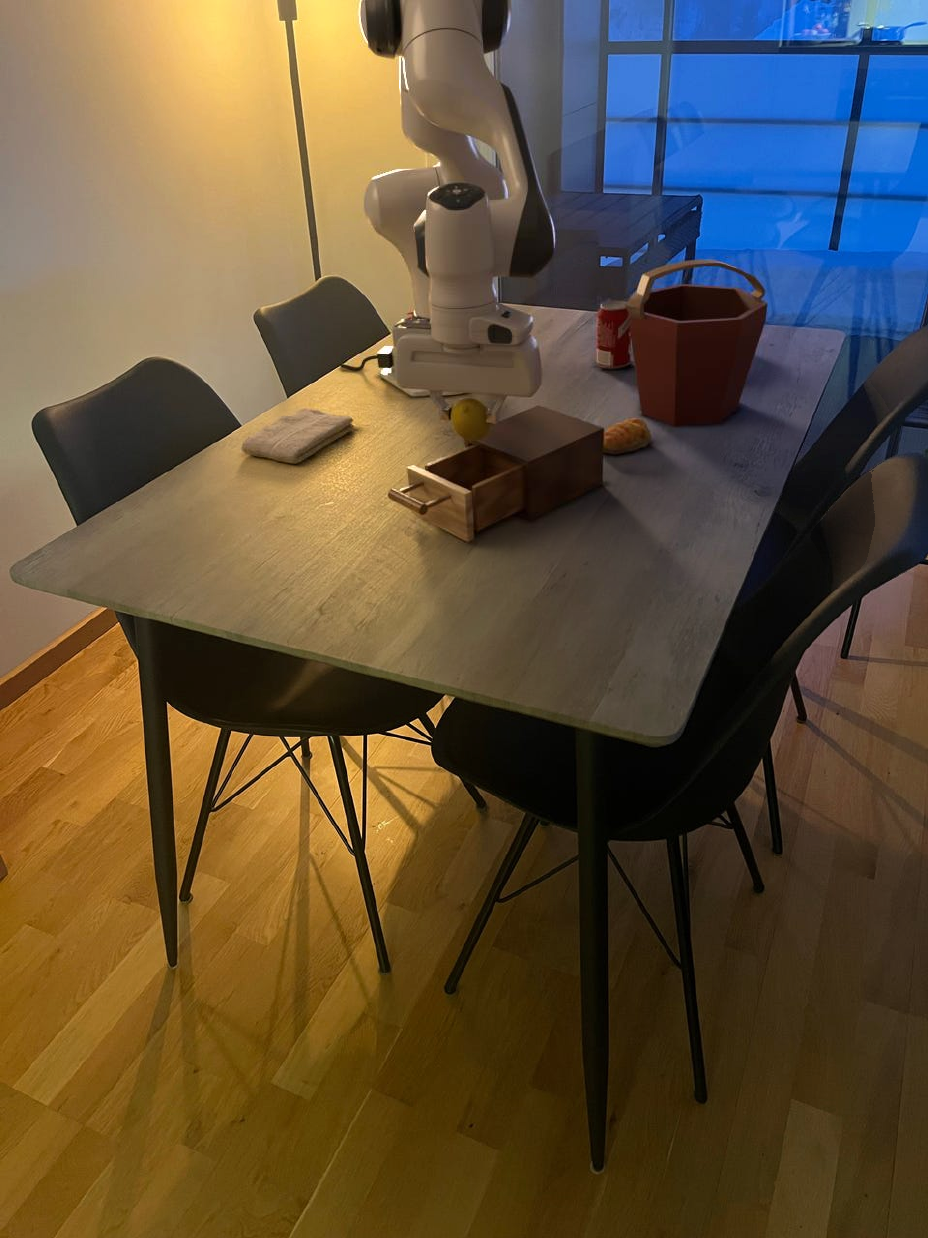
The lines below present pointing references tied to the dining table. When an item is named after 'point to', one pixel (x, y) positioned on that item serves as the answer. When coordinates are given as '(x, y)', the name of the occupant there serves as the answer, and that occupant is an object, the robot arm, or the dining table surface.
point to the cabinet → (549, 455)
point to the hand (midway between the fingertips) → (469, 420)
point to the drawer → (464, 491)
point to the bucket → (693, 344)
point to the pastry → (626, 436)
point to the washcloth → (297, 435)
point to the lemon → (470, 419)
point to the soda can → (613, 335)
